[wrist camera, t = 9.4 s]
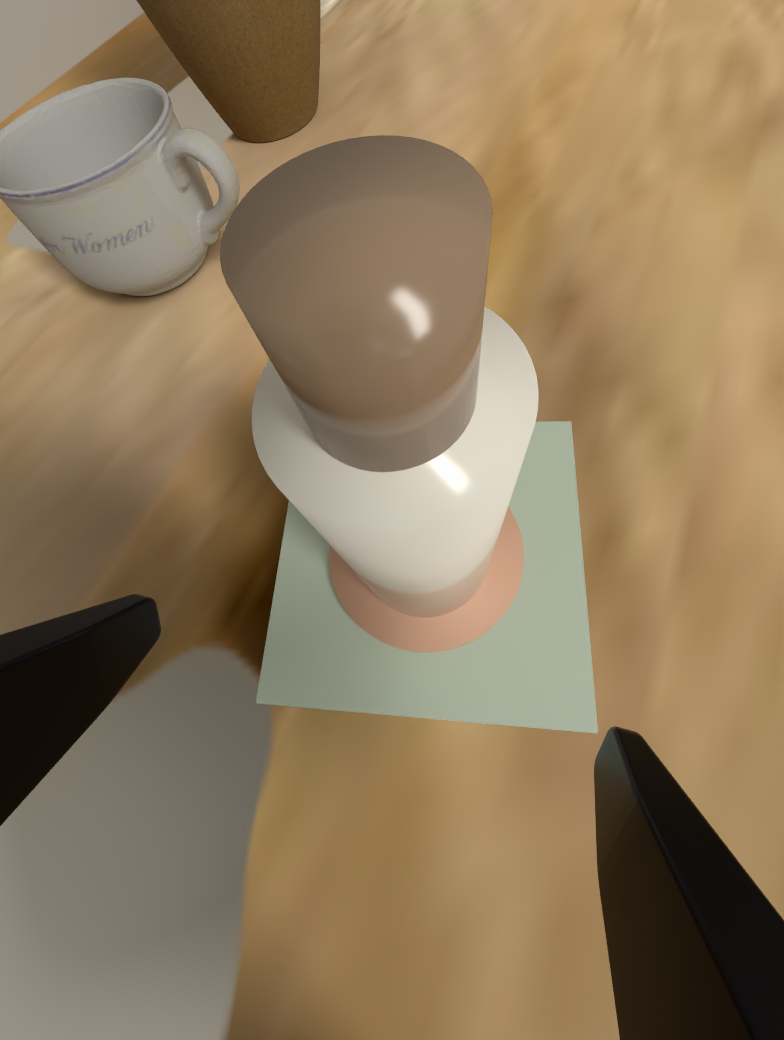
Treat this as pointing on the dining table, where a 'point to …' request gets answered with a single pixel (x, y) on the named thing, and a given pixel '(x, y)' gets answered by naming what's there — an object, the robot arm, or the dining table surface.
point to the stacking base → (447, 621)
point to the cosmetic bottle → (384, 361)
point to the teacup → (116, 185)
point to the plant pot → (247, 59)
